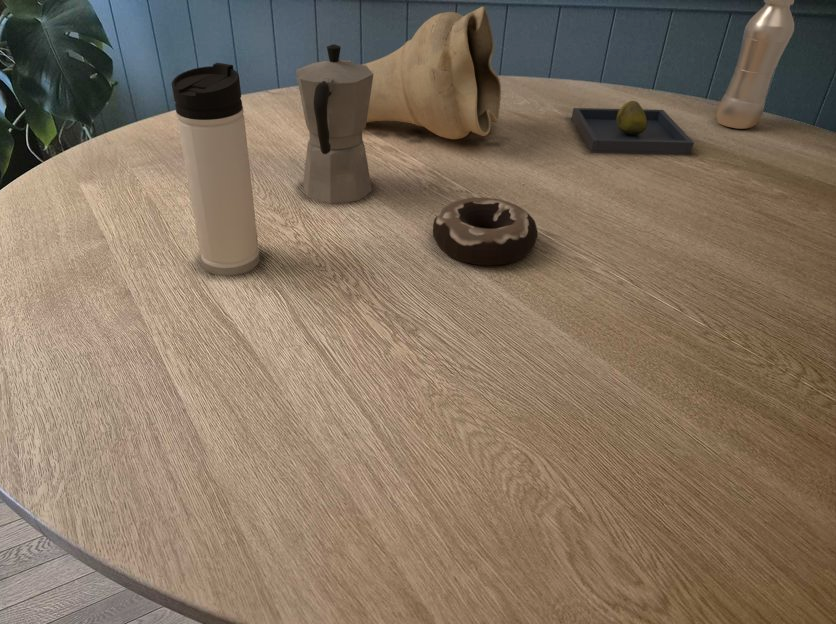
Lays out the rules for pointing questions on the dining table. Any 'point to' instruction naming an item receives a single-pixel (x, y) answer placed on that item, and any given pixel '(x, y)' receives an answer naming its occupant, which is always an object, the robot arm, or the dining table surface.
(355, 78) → the coffeepot
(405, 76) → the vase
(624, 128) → the lime
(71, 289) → the dining table surface
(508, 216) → the donut
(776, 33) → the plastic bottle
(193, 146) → the travel mug
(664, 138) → the square tray
